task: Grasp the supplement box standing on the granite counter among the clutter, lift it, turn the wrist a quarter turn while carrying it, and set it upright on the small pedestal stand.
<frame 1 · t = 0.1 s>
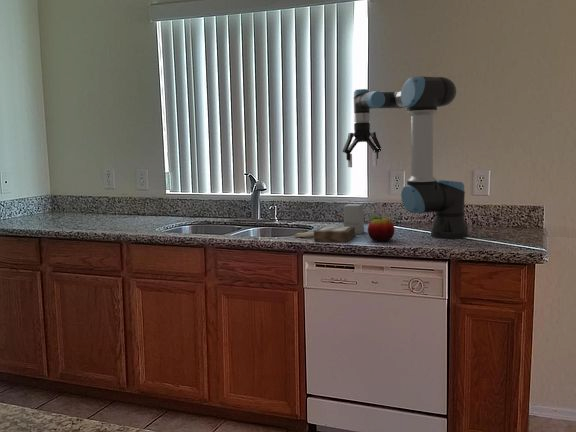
hand: (362, 166, 268), 28 cm above the worktop, fingers open, 13 cm apart
stand: (334, 238, 233), on the worktop
supplement box: (354, 233, 246), on the worktop
cork coaster: (306, 236, 241), on the worktop
fruit: (381, 241, 225), on the worktop
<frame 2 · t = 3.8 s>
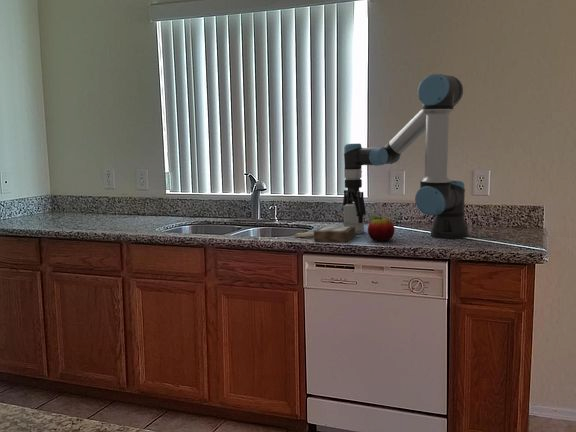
hand: (353, 228, 246), 2 cm above the worktop, fingers closed on supplement box, 10 cm apart
supplement box: (354, 233, 246), on the worktop, touching gripper
everything else where it was.
when the fingers open (7 cm above the worktop, at t = 8.9 s): supplement box stays where it is, resting on stand.
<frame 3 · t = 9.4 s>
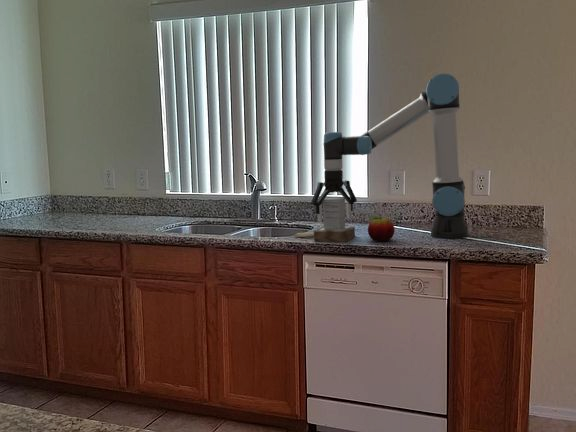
hand: (334, 220, 231), 8 cm above the worktop, fingers open, 13 cm apart
supplement box: (334, 229, 232), point 4 cm above the worktop, touching stand
everything else where it was.
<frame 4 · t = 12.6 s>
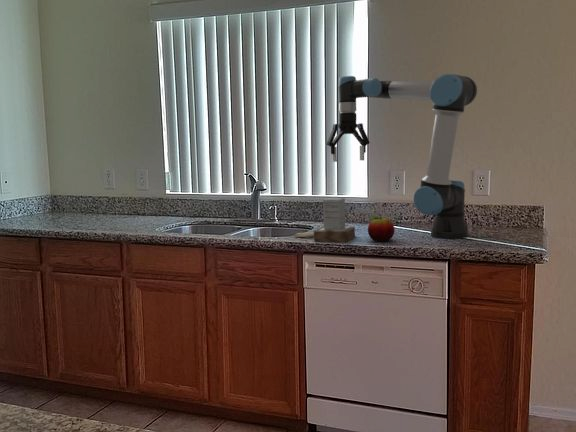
hand: (348, 161, 245), 32 cm above the worktop, fingers open, 13 cm apart
nothing on the worktop moved.
at the end: supplement box 0.1 cm from the stand (horizontally); supplement box point 4.1 cm above the worktop; supplement box tilted 0° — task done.
